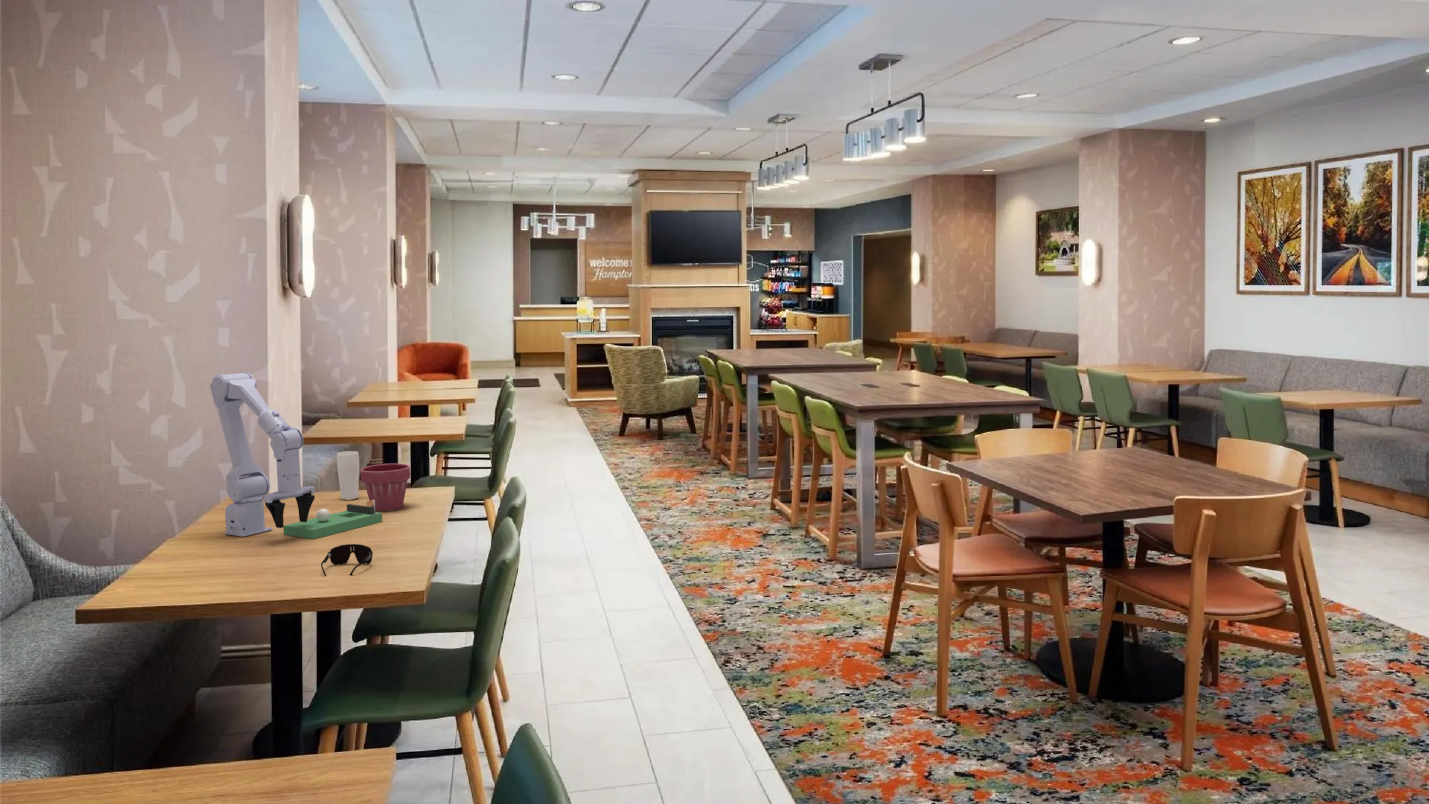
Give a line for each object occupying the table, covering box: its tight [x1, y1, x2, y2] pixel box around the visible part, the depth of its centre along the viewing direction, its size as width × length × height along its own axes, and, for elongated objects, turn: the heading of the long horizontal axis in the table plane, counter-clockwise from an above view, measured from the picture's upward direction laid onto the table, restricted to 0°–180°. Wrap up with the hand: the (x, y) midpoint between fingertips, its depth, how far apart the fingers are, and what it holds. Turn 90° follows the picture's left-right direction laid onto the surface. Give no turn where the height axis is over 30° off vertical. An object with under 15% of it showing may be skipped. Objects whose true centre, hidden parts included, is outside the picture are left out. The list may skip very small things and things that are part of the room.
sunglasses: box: [320, 543, 374, 577], centre depth 246 cm, size 10×12×5 cm
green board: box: [282, 500, 383, 540], centre depth 290 cm, size 24×12×6 cm, turn 151°
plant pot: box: [360, 463, 411, 512], centre depth 315 cm, size 14×14×13 cm
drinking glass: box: [336, 450, 360, 500], centre depth 330 cm, size 7×7×15 cm
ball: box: [315, 508, 331, 522], centre depth 287 cm, size 4×4×4 cm
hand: (291, 524), depth 278 cm, fingers open, 7 cm apart
